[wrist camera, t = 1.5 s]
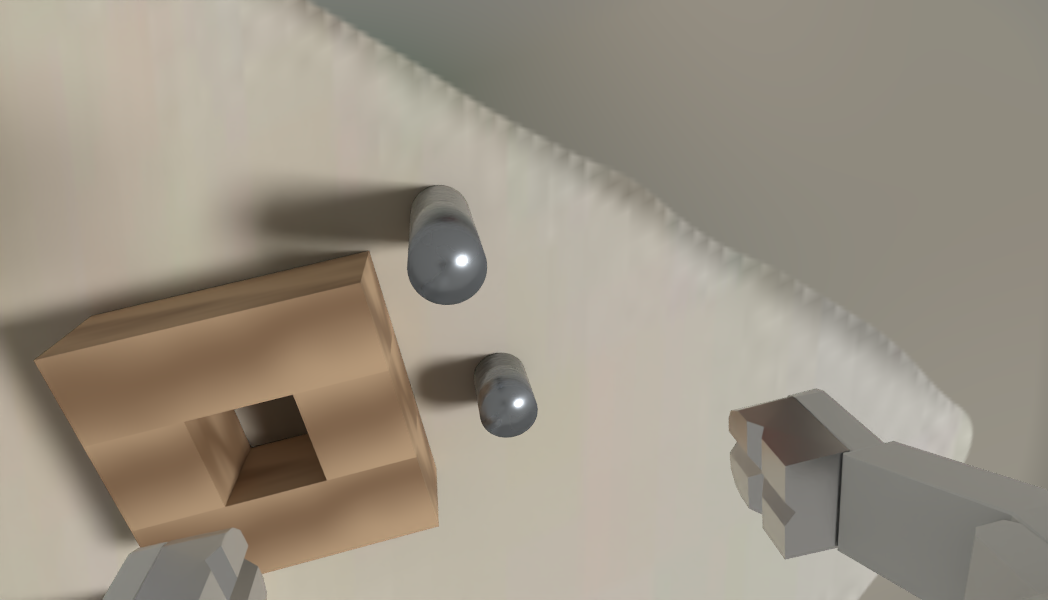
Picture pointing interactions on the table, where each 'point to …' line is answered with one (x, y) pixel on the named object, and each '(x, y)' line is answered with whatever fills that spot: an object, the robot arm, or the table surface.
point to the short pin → (504, 395)
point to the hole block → (245, 379)
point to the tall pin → (444, 247)
